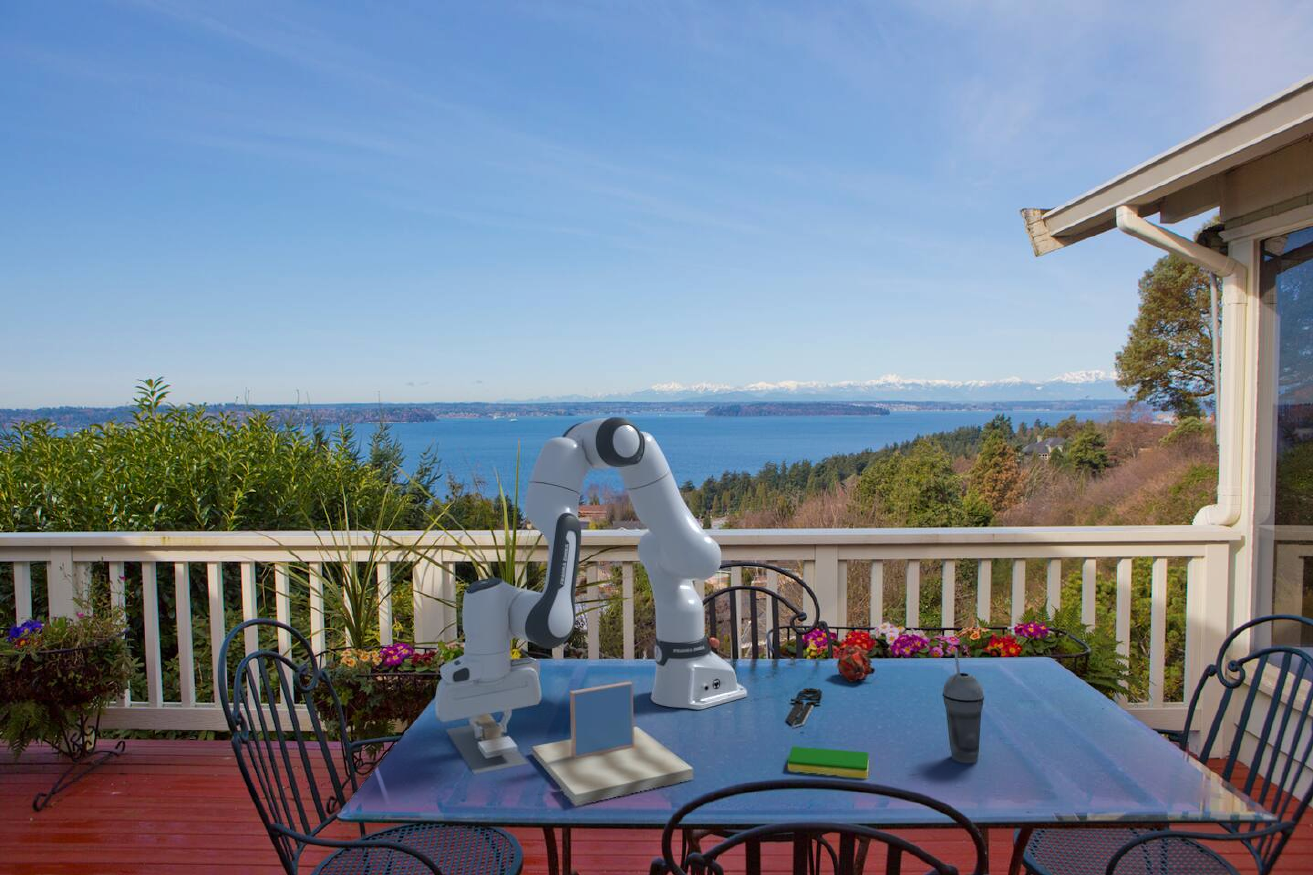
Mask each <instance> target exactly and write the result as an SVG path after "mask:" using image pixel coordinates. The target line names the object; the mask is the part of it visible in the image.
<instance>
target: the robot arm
mask: <svg viewBox="0 0 1313 875" xmlns="http://www.w3.org/2000/svg"><path fill="white" fill-rule="evenodd" d="M612 468H615V469H616V470H617V471H618V473H619V474H620V476H621V480H622V482H623V485H624V488H625V490H626V493H627V495H628V498H629V500H630V502H631V504H632V507H633V508H632V509H633V510H634V512H635V514H636V517H637V519H638V520H639V521H640V523H642V525H644V526H645V527H646V528H647V529H648V531H647V532H645V533H644V534H643V535H642V536H641V538H639V542H638V544H637V556H638V559H639V561H640V562H641V564H642V566H643V567H644V569H645V571H646V574H647V577H648V581H649V583H650V587H651V592H652V594H653V595H652V596H653V600H654V610H655V634H656V636H655V637H654V659H655V674H654V683H653V688H652V692H651V696H650V699H651V701H652V702H653V703H655V704H657V705H660V706H664V707H670V708H683V709H684V708H685V709H692V710H704V709H707V708H708V709H709V708H711V707H714V706H718V705H722V704H726V703H729V702H732V701H733V702H734V701H735V700H739V699H743V698H746V697H747V696H748V692H747V691H748V690H747V688H745V687H744V686H743V685H741V684H740V683H738V681H737V675H736V673H735V668H733V667H732V665H731V664H730V663H729V662H727V661H725V659H723V658H721V656H719V655H717V654H716V653H715V652H713V651H712V649H711V647H712V648H713V649H717V648H719V646H720V640H719V639H718V638H715V637H711V638H710V637H709V636H706V635H705V625H704V623H705V622H704V603H703V601H702V599H701V597H700V596H699V594H698V593H697V590H696V589H695V585H694V582H695V581H696V582H697V581H705V580H708V579H711V578H712V577H714V576H715V574H716V573H717V572H718V571H719V569H720V567H721V564H722V556H723V555H722V551H721V547H720V545H719V544H718V542H717V541H715V539H714V538H712V537H711V536H709V535H708V533H707V532H706V531H705V530H704V529H703V527H702V526H701V525H700V524H699V522H698V520H697V519H696V517H695V516H694V515H693V513H692V512H691V510H690V509H689V506H687V504H686V503H685V501H684V499H683V497H682V495H681V492H680V491H679V488H678V485H677V482H676V480H675V477H674V475H673V473H672V470H671V468H670V466H669V463H668V461H667V459H666V456H665V455H664V453H663V451H662V449H661V448H660V446H659V444H658V443H657V441H656V440H655V438H654V436H653V435H652V434H650V433H649V432H646V431H641V430H640V429H639V428H638V426H637V425H636V424H635V423H634V422H633V421H631V420H629V419H627V418H623V417H617V416H613V417H602V418H601V417H600V418H593V419H591V420H589V421H585V422H577V423H576V424H573V425H572V426H571V427H569V428H568V429H566V431H565V432H564V433H563V434H562V436H558V437H552V438H550V439H548V440H546V441H545V442H544V444H543V445H542V446H541V450H540V452H539V454H538V456H537V458H536V461H535V463H534V465H533V469H532V472H531V474H530V478H529V482H528V485H527V489H526V492H525V498H524V513H525V515H526V517H527V518H526V519H528V521H529V522H530V524H531V525H532V526H533V527H534V528H535V529H536V530H537V531H538V532H539V533H541V534H542V535H543V537H544V539H545V540H546V543H547V546H548V560H547V566H546V573H545V581H544V586H543V590H542V591H541V592H538V591H535V590H531V589H526V588H521V587H518V586H514V585H511V584H510V583H508V582H505V581H504V579H502V578H501V577H488V578H482V579H479V580H476V581H474V582H472V583H471V584H470V585H468V586H467V587H466V589H465V590H464V594H463V599H462V600H463V601H462V630H463V633H464V636H465V638H464V639H465V641H464V645H463V646H464V647H463V654H462V655H461V656H458V657H457V658H454V659H453V660H451V661H448V662H447V663H444V664H443V665H441V666H440V669H439V673H440V676H441V679H440V680H439V682H438V683H437V686H436V691H435V700H434V701H435V702H434V703H435V704H434V705H435V706H434V708H435V709H434V710H435V711H434V712H435V716H436V718H437V719H438V720H439V721H440V722H441V723H448V722H452V721H457V720H463V719H467V720H468V722H469V721H470V723H471V724H472V726H473V727H474V732H475V738H476V739H478V738H482V737H484V734H483V733H484V728H482V726H477V725H476V723H475V722H476V721H478V716H479V715H485V714H490V715H491V714H495V713H499V712H501V713H502V714H503V716H502V718H501V720H500V722H497V723H498V724H499V726H500V727H501V734H506V733H507V731H508V730H507V729H508V728H507V725H508V723H509V721H510V719H511V718H512V716H513V715H512V712H513V710H515V709H520V708H526V707H531V706H536V705H539V703H540V702H541V701H542V688H541V683H540V680H539V676H540V674H541V665H540V662H539V661H538V659H535V658H533V657H532V656H528V657H527V656H526V657H525V658H515V659H511V655H512V654H511V641H512V640H513V639H516V638H517V639H520V640H522V641H526V642H530V643H533V644H535V645H536V646H538V647H541V648H542V649H543V648H544V649H548V650H550V649H556V648H558V647H560V646H562V645H563V644H564V643H566V642H567V640H568V639H569V638H570V637H571V635H572V633H573V631H574V629H575V626H576V620H577V619H576V618H577V613H576V599H575V598H576V586H577V579H578V573H579V572H578V571H579V565H580V564H579V562H580V554H581V547H582V546H581V544H582V527H581V523H580V520H579V507H580V506H579V505H580V499H581V494H582V490H583V485H584V480H585V478H586V476H587V474H588V472H589V471H590V470H593V471H602V470H603V471H604V470H606V469H612Z"/></svg>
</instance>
